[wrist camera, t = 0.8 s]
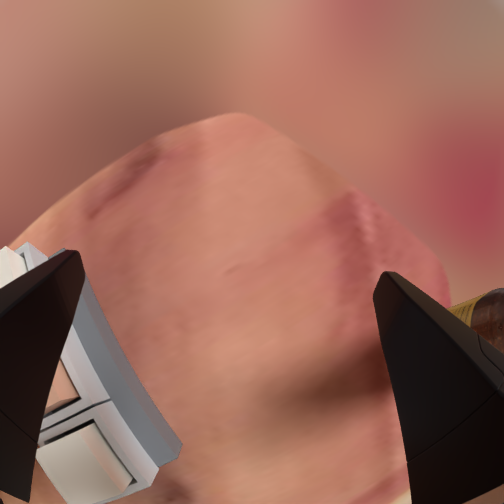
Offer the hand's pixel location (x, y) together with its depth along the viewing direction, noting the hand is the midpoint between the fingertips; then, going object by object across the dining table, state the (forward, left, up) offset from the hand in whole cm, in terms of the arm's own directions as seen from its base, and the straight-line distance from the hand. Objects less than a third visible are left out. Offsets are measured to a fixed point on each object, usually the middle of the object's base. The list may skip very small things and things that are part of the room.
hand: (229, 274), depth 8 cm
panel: (-10, +9, -18) cm, 23 cm away
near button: (-13, +3, -11) cm, 18 cm away
